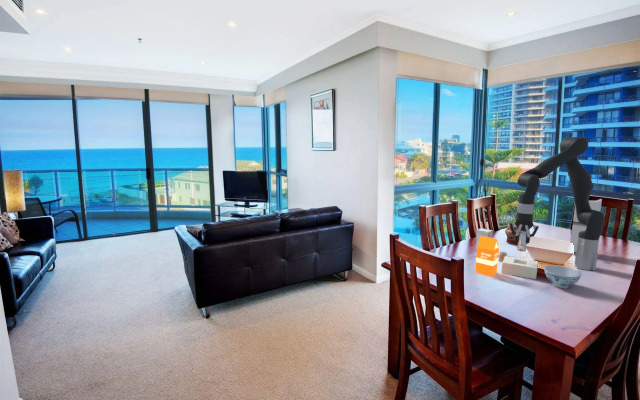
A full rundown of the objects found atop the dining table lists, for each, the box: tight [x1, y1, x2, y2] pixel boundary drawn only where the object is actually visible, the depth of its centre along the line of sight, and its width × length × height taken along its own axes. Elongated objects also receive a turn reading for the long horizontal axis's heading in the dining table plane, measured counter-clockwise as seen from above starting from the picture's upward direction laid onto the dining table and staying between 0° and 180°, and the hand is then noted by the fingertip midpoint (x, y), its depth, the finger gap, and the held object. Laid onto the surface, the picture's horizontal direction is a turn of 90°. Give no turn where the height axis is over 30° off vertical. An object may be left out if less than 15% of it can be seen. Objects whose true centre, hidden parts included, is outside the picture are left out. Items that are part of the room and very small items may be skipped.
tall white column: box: [570, 198, 603, 256], centre depth 212 cm, size 11×11×35 cm
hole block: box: [500, 256, 539, 280], centre depth 187 cm, size 16×12×6 cm
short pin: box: [498, 251, 508, 263], centre depth 205 cm, size 4×4×5 cm
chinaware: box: [543, 264, 582, 289], centre depth 170 cm, size 15×15×8 cm
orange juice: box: [474, 236, 500, 278], centre depth 186 cm, size 8×9×20 cm
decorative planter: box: [504, 222, 526, 246], centre depth 238 cm, size 20×12×14 cm, turn 132°
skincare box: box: [475, 227, 494, 252], centre depth 219 cm, size 8×6×15 cm
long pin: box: [516, 231, 527, 252], centre depth 184 cm, size 4×4×10 cm
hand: (522, 242), depth 184 cm, fingers closed on long pin, 4 cm apart
